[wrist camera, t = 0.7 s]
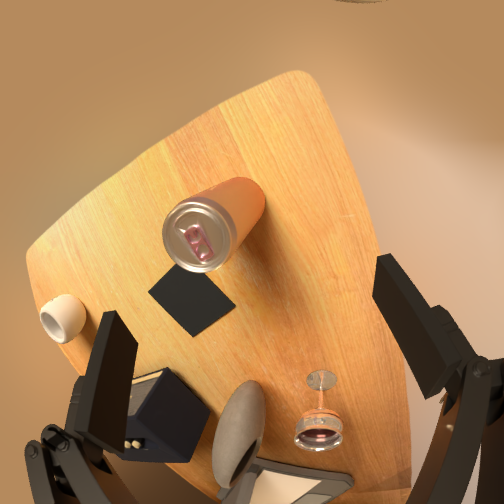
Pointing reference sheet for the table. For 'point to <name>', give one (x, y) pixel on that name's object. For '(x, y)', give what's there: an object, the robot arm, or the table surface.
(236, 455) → the smooth grey egg stone
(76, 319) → the mug
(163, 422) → the speaker
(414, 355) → the robot arm
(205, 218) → the beverage can
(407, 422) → the table surface
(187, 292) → the table mark
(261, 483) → the laptop
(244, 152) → the table surface
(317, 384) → the wineglass
